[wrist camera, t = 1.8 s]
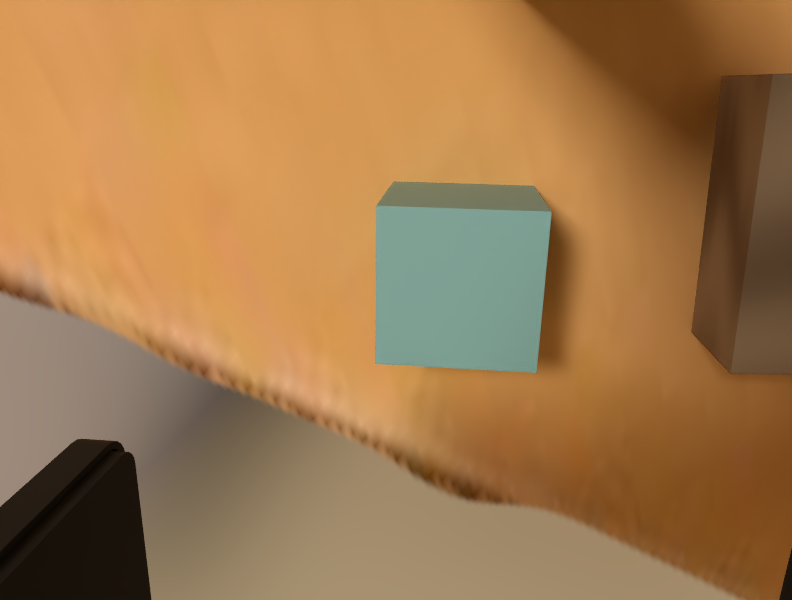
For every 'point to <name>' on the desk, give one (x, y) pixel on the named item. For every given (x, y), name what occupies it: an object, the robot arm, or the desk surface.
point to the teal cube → (460, 275)
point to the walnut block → (749, 229)
